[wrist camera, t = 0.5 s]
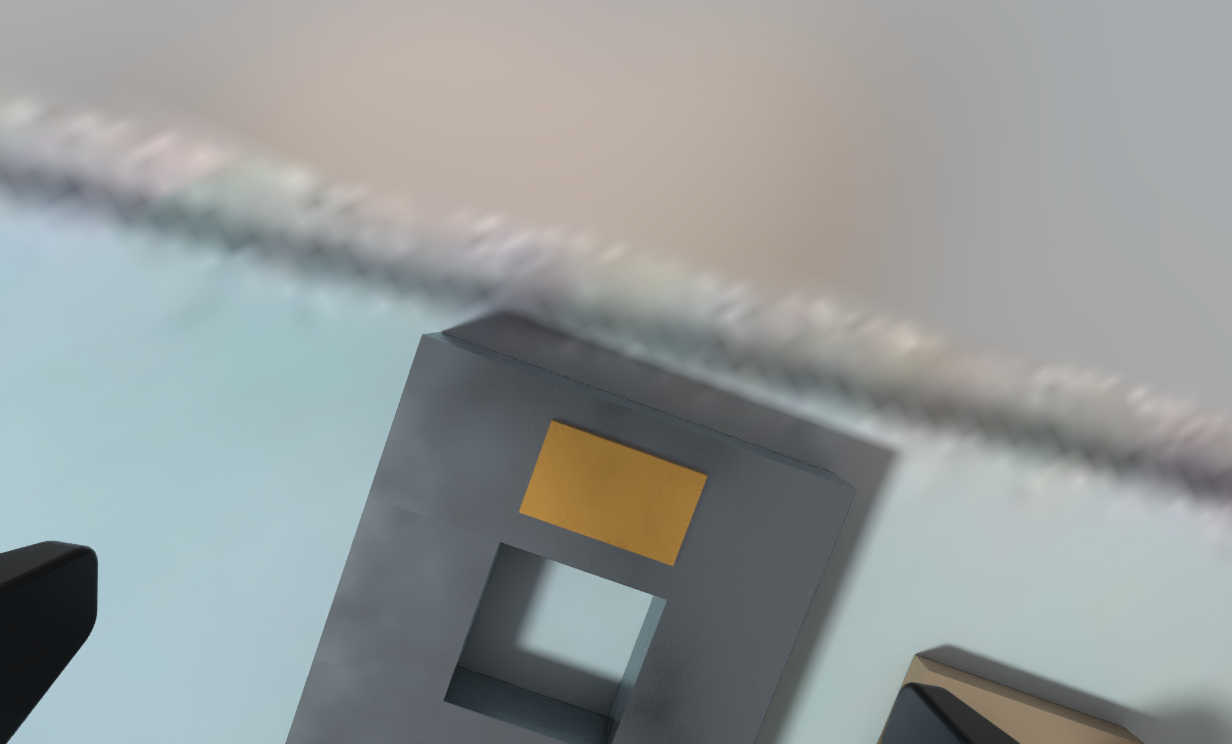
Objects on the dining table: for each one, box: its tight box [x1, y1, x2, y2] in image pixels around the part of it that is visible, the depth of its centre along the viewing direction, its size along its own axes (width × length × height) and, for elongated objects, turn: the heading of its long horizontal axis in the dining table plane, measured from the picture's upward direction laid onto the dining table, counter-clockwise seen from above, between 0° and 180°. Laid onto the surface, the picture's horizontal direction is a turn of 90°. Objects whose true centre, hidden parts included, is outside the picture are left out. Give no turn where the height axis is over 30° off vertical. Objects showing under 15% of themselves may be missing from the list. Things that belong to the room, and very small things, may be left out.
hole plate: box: [285, 332, 856, 744], centre depth 22 cm, size 16×14×2 cm
